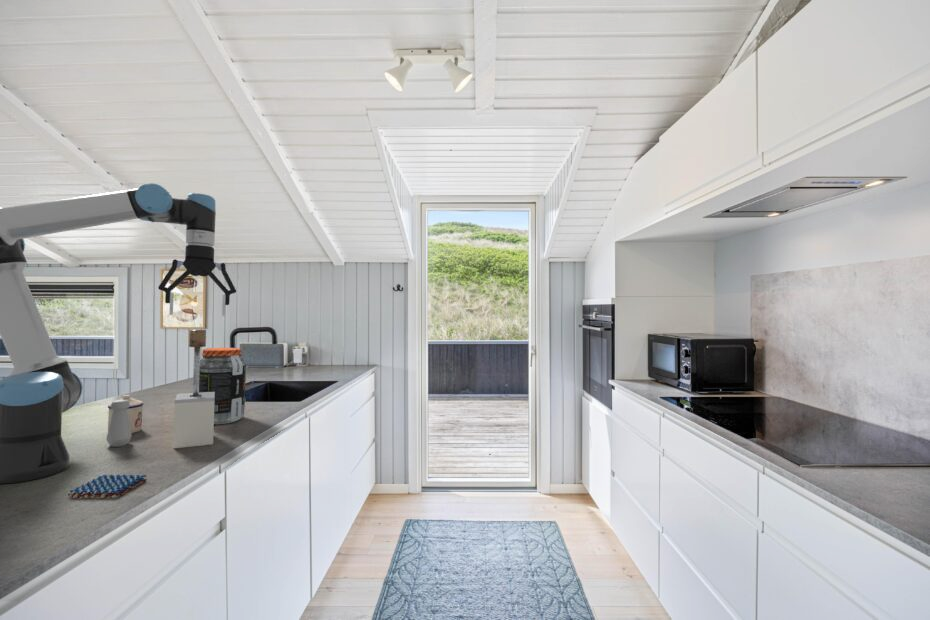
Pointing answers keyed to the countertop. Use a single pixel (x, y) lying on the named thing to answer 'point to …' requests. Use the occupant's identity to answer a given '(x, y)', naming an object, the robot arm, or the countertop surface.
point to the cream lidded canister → (131, 413)
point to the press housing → (193, 419)
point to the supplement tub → (224, 382)
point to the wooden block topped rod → (196, 355)
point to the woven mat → (107, 486)
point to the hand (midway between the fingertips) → (197, 315)
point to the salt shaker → (119, 424)
